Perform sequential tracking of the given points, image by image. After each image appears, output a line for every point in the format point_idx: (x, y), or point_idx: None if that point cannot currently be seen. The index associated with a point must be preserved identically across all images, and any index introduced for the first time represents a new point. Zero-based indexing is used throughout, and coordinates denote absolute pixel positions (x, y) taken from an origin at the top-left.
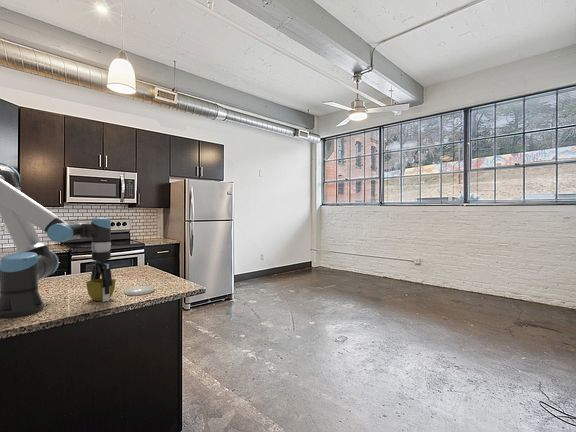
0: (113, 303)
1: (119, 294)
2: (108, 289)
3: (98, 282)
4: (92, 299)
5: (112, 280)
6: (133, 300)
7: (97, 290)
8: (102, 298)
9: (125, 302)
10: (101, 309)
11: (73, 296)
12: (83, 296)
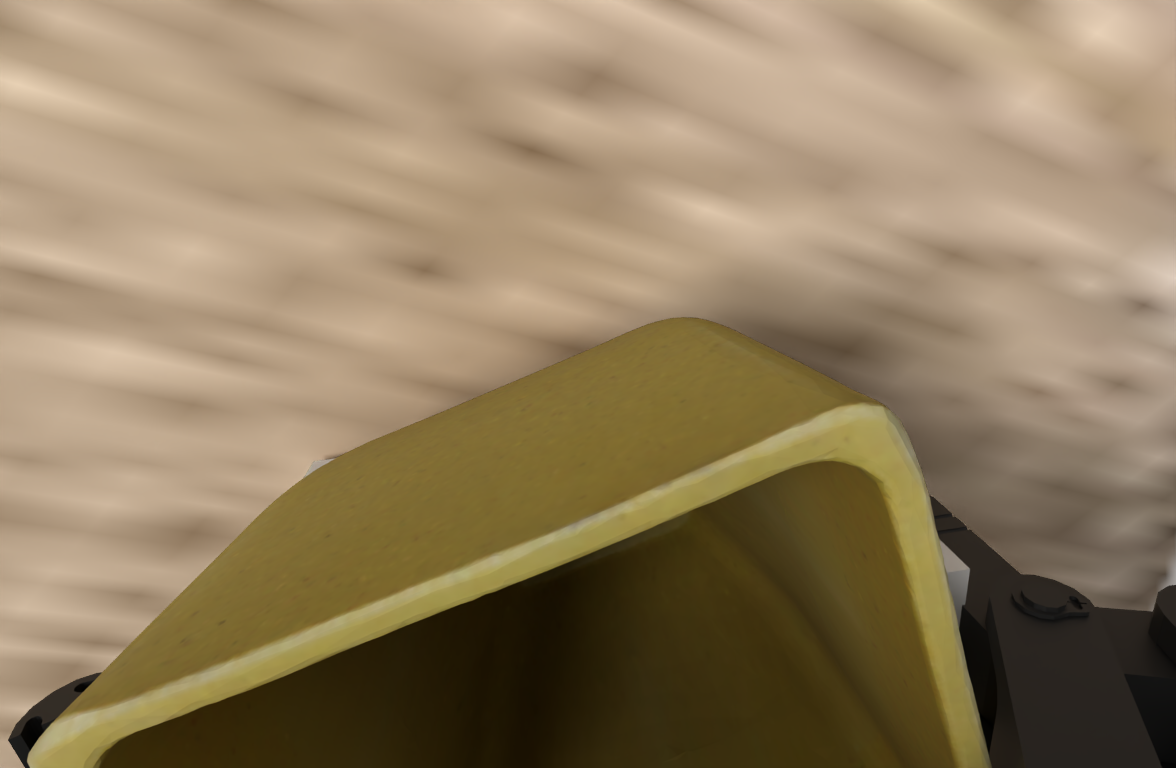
0: (990, 382)
1: (372, 51)
2: (992, 567)
3: (274, 759)
4: (530, 599)
5: (940, 558)
6: (1142, 9)
7: (813, 737)
8: (722, 511)
9: (1121, 200)
10: (1121, 580)
11: (12, 757)
12: (109, 648)
